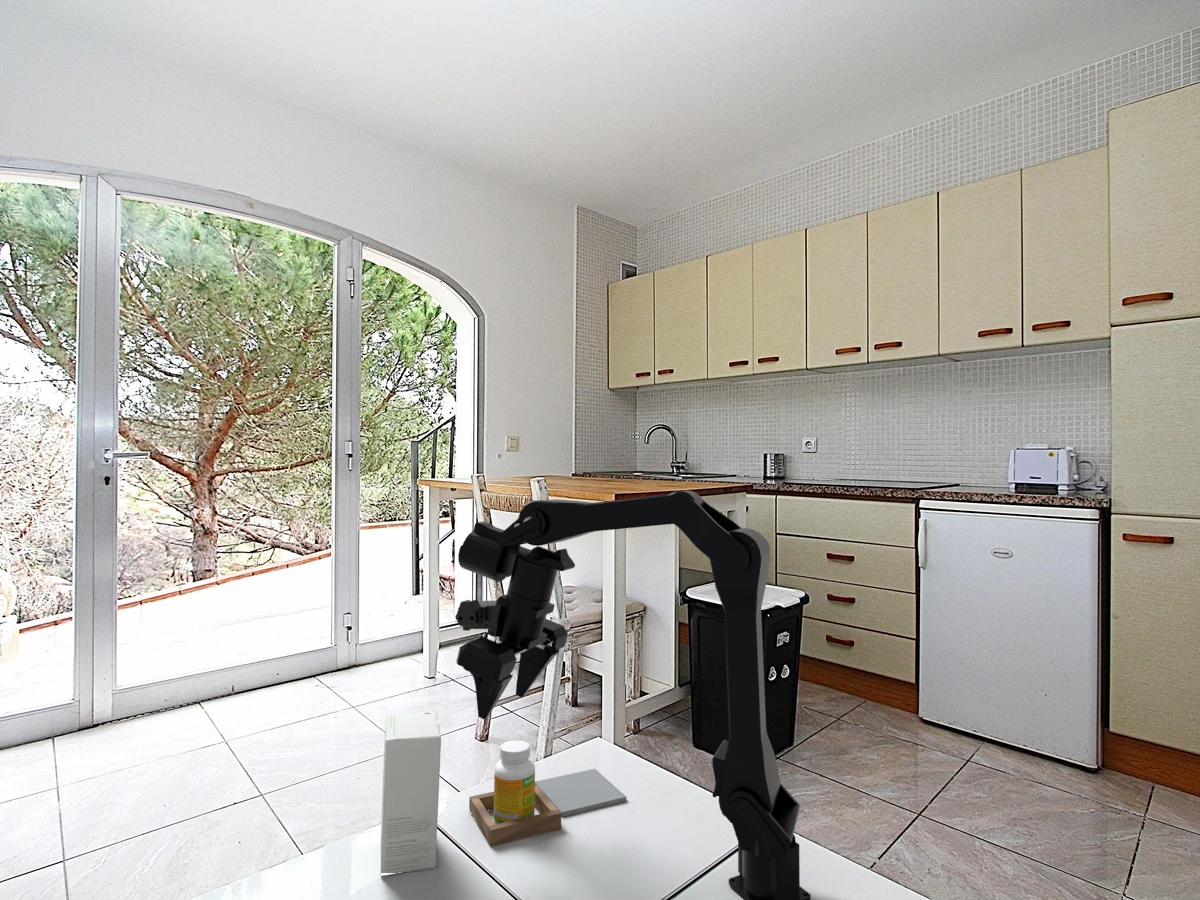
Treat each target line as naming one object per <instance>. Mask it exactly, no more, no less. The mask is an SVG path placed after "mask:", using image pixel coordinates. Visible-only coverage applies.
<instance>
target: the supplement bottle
mask: <svg viewBox="0 0 1200 900" xmlns="http://www.w3.org/2000/svg"><path fill="white" fill-rule="evenodd" d="M530 757H531V745H530V744H529V743H528V742H526V741H523V740H508V741H505V742H503V743H501V745H500V747H499V759H500V760H499V761H497V762H496V763H495V766H494V775H493V776H494V778H493V781H494V783H493V792H494V810H493V821H494V822H495V824H500V823H504V822H509V821H513V820H517V819H521V818H525V817H529V816H534V815H535V811H536V808H535V781H536V766H535V763H534V761H533V760H532V759H531V758H530Z"/></svg>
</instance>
